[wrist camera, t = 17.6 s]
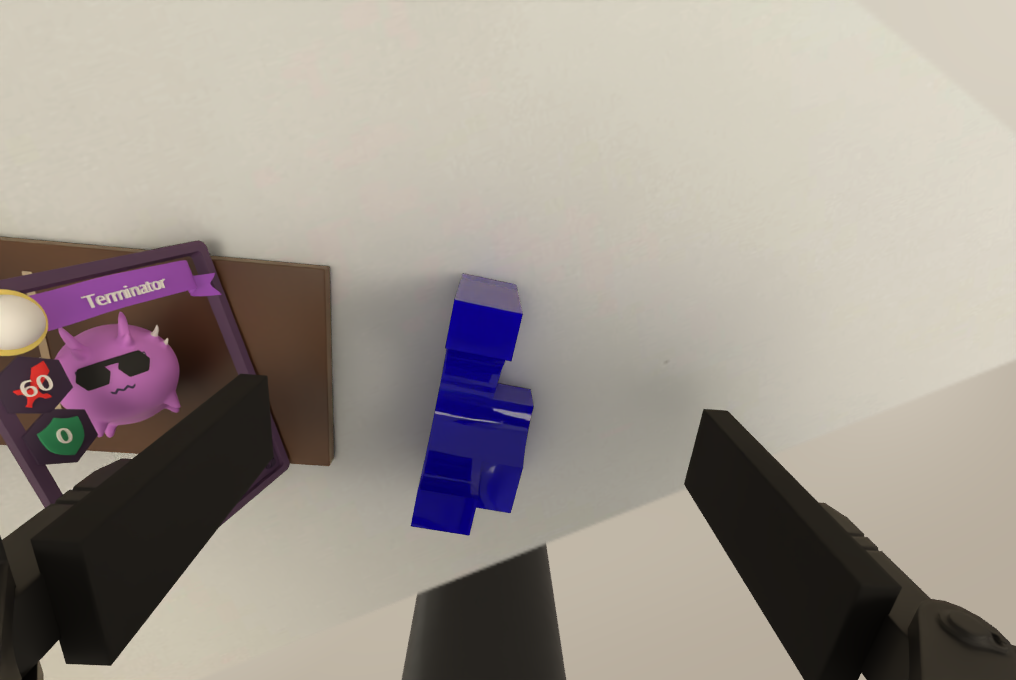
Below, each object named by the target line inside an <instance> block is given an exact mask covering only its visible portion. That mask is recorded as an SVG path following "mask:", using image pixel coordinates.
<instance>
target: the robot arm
mask: <svg viewBox="0 0 1016 680" xmlns="http://www.w3.org/2000/svg"><path fill="white" fill-rule="evenodd" d="M273 457H274V456H273V442H272V429H271V415H270V402H269V388H268V376H266V375H253V374H239V375H238V376H237V377H236V378H234V379H233V380H232V381H231V382H229V383H228V384H227V385H225V386H224V387H223V388H222V389H220V390H219V391H218V392H217V393H215V394H214V395H213V396H212V397H210V398H209V399H208V400H206V401H205V402H204V403H203V404H201V405H200V406H199V407H198V408H196V409H195V410H194V411H192V412H191V413H190V414H189V415H187V416H186V417H185V418H184V419H182V420H181V421H180V422H179V423H177V424H176V425H175V426H173V427H172V428H171V429H170V430H168V431H167V432H166V433H165V434H163V435H162V436H161V437H159V438H158V439H157V440H156V441H154V442H153V443H152V444H151V445H149V446H148V447H147V448H146V449H144V450H143V451H142V452H140V453H139V454H138V455H137V456H135V457H134V458H133V459H120V460H118V461H115V462H113V463H111V464H109V465H107V466H105V467H103V468H100V469H98V470H96V471H94V472H93V473H92V474H90V475H89V476H87V477H86V478H85V479H83V480H82V481H81V482H79V483H78V484H77V485H75V486H74V487H73V490H69V491H67V492H66V493H65V494H63V495H62V496H61V497H59V498H58V499H57V500H56V502H55V503H54V504H50V505H49V506H47V507H46V508H44V509H43V510H42V511H40V512H39V513H38V514H36V515H35V516H34V517H32V518H31V519H30V520H28V521H27V522H26V523H24V524H23V525H22V526H20V527H19V528H18V529H16V530H15V531H14V532H12V533H11V534H10V535H8V536H7V537H6V538H4V539H3V540H1V537H0V680H43V671H42V668H41V665H40V661H39V660H40V659H41V658H42V657H43V656H44V655H45V654H46V653H47V652H48V651H49V650H50V649H51V648H52V646H53V645H54V644H55V643H56V642H57V641H58V640H59V641H60V645H61V648H62V652H63V655H64V658H65V662H66V664H83V665H108V666H111V665H112V664H113V662H114V661H115V660H116V659H117V657H118V656H119V655H120V653H121V652H122V651H123V650H124V648H125V647H126V646H127V644H128V643H129V642H130V641H131V639H132V638H133V637H134V635H135V634H136V633H137V632H138V630H139V629H140V628H141V626H142V625H143V624H144V623H145V621H146V620H147V619H148V617H149V616H150V615H151V614H152V612H153V611H154V610H155V608H156V607H157V606H158V605H159V603H160V602H161V601H162V599H163V598H164V597H165V596H166V594H167V593H168V592H169V590H170V589H171V588H172V587H173V585H174V584H175V583H176V581H177V580H178V579H179V578H180V576H181V575H182V574H183V572H184V571H185V570H186V569H187V567H188V566H189V565H190V563H191V562H192V561H193V560H194V558H195V557H196V556H197V555H198V553H199V552H200V551H201V549H202V548H203V547H204V546H205V544H206V543H207V542H208V540H209V539H210V538H211V537H212V535H213V534H214V533H215V531H216V530H217V529H218V528H219V526H220V525H221V524H222V522H223V521H224V520H225V519H226V517H227V516H228V515H229V513H230V512H231V511H232V510H233V508H234V507H235V506H236V504H237V503H238V502H239V501H240V499H241V498H242V497H243V495H244V494H245V493H246V492H247V490H248V489H249V488H250V486H251V485H252V484H253V483H254V481H255V480H256V479H257V477H258V476H259V475H260V474H261V472H262V471H263V470H264V468H265V467H266V466H267V465H268V463H269V462H270V461H271V459H272V458H273ZM684 485H685V487H686V488H687V490H688V491H689V493H690V495H691V496H692V498H693V500H694V501H695V503H696V504H697V506H698V508H699V509H700V511H701V513H702V514H703V516H704V517H705V519H706V520H707V522H708V524H709V525H710V527H711V529H712V530H713V532H714V534H715V535H716V537H717V539H718V540H719V542H720V543H721V545H722V547H723V548H724V550H725V552H726V553H727V555H728V556H729V558H730V560H731V561H732V563H733V565H734V566H735V568H736V570H737V571H738V573H739V574H740V576H741V578H742V579H743V581H744V583H745V584H746V586H747V587H748V589H749V591H750V592H751V594H752V595H753V597H754V599H755V600H756V602H757V603H758V605H759V607H760V608H761V610H762V612H763V614H764V615H765V617H766V618H767V620H768V622H769V623H770V625H771V626H772V628H773V630H774V631H775V633H776V635H777V636H778V638H779V640H780V641H781V643H782V644H783V646H784V648H785V649H786V651H787V653H788V654H789V656H790V657H791V659H792V661H793V662H794V664H795V666H796V667H797V669H798V670H799V672H800V674H801V675H802V677H803V679H804V680H858V678H859V676H860V674H861V673H862V674H863V675H864V677H865V678H866V679H867V680H1016V646H1014V645H1011V644H1010V642H1009V641H1008V640H1007V639H1006V638H1005V637H1004V636H1003V635H1002V634H1001V633H1000V632H999V631H998V630H997V629H996V628H994V627H992V625H990V624H989V623H987V622H986V621H985V620H983V619H982V618H980V617H979V616H977V615H975V614H973V613H971V612H970V611H968V610H966V609H964V608H962V607H960V606H957V605H954V604H951V603H949V602H946V601H941V600H935V599H930V598H929V597H928V596H927V595H926V594H925V593H924V592H923V591H922V590H921V589H920V588H919V587H918V586H917V585H916V584H915V583H914V582H913V581H912V580H911V579H910V578H909V577H908V576H907V575H906V574H905V573H904V572H903V571H901V570H900V568H898V567H897V566H896V565H895V564H894V563H893V562H892V561H891V560H890V559H889V558H888V557H887V556H886V555H885V554H884V553H883V552H882V551H878V547H877V546H876V545H875V544H874V543H873V542H872V541H871V540H870V539H869V538H868V537H864V534H863V533H862V532H861V531H860V530H859V529H858V528H857V527H856V526H855V525H854V524H853V523H852V522H851V521H850V520H849V519H848V518H847V517H845V516H844V515H842V514H841V513H839V512H838V511H836V510H835V509H833V508H832V507H830V506H828V505H827V504H826V503H818V502H817V501H816V500H815V499H814V498H813V497H812V496H811V495H810V494H809V493H808V492H807V491H806V490H805V489H804V488H803V487H802V486H801V485H800V484H799V483H798V481H797V480H795V478H793V476H792V475H791V474H790V473H789V472H788V471H787V470H785V468H784V467H783V466H782V465H781V464H780V463H779V462H778V461H777V460H776V459H775V458H774V457H773V456H772V455H771V454H770V453H769V452H768V451H767V450H766V449H765V448H764V447H763V446H762V445H761V444H760V443H759V442H758V441H757V440H756V439H755V438H754V437H753V436H752V435H751V434H750V433H749V432H748V431H747V430H746V429H745V428H744V427H743V426H742V425H741V424H740V423H739V422H738V421H737V420H736V419H735V418H734V417H733V416H732V415H731V414H730V413H729V412H728V411H723V410H710V409H704V410H703V413H702V417H701V421H700V425H699V429H698V433H697V436H696V440H695V444H694V448H693V452H692V456H691V460H690V463H689V467H688V471H687V475H686V479H685V483H684Z"/></svg>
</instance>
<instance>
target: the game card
mask: <svg viewBox="0 0 1016 680" xmlns="http://www.w3.org/2000/svg"><path fill="white" fill-rule="evenodd" d="M187 256H189V257H191V258H192V260H193V262H194V265H195V267H196V270H197V272H198V275H195V276H193V275H192V272H191V270H190V267H189V265H188V262H187V261H186V260H182V261H176V262H171V263H167V264H161V265H156V266H151V267H146V268H141V269H136V270H132V271H127V272H122V273H117V272H121V271H126V270H130V269H134V268H139V267H143V266H148V265H152V264H156V263H161V262H165V261H169V260H174V259H178V258H182V257H187ZM113 273H117V274H113ZM108 274H112V275H108ZM104 275H108V276H104ZM99 276H103V277H99ZM95 277H99V278H95ZM91 278H95V279H91ZM86 279H91V280H87V281H84V282H80V283H76V284H73V285H69V286H65V287H62V288H58V289H54V290H50V291H46V292H42V293H38V294H34V295H30V296H27V295H25V293H29V292H34V291H38V290H43V289H47V288H51V287H56V286H60V285H64V284H69V283H73V282H78V281H82V280H86ZM187 290H188V291H189V293H190V295H191V296H207V298H208V300H209V303H210V305H211V308H212V310H213V313H214V315H215V318H216V320H217V323H218V325H219V328H220V330H221V333H222V335H223V338H224V340H225V343H226V345H227V348H228V350H229V353H230V355H231V358H232V360H233V363H234V365H235V368H236V370H237V373H238V375H239V374H253V375H256V374H255V371H254V368H253V366H252V363H251V361H250V358H249V355H248V353H247V350H246V348H245V345H244V342H243V340H242V337H241V335H240V332H239V329H238V327H237V324H236V322H235V319H234V316H233V314H232V311H231V309H230V306H229V303H228V301H227V298H226V296H225V293H224V290H223V288H222V285H221V283H220V280H219V277H218V275H217V272H216V270H215V267H214V264H213V262H212V259H211V257H210V254H209V252H208V249H207V247H206V245H205V244H204V243H203V242H202V241H193V242H188V243H183V244H178V245H173V246H168V247H163V248H158V249H153V250H148V251H143V252H138V253H133V254H128V255H123V256H118V257H113V258H108V259H103V260H98V261H93V262H88V263H83V264H78V265H73V266H68V267H63V268H58V269H53V270H48V271H43V272H38V273H33V274H28V275H23V276H18V277H13V278H8V279H3V280H0V356H14V355H19V354H23V353H26V352H28V351H30V350H32V349H34V348H35V347H37V346H38V345H39V344H40V343H41V342H42V341H43V339H44V338H45V336H46V334H47V331H51V330H54V329H58V328H59V334H60V336H61V338H62V339H63V341H64V342H65V343H66V344H65V345H64V346H63V347H62V348H61V350H60V351H59V352H58V354H57V356H56V358H55V359H45V358H35V357H24V356H16V357H15V358H14V359H13V360H12V361H11V362H10V363H9V364H8V365H7V366H6V367H5V368H4V369H3V370H2V371H1V372H0V434H1V436H2V438H3V439H4V441H5V443H6V444H7V446H8V448H9V449H10V451H11V453H12V454H13V456H14V458H15V459H16V461H17V463H18V464H19V466H20V467H21V469H22V471H23V472H24V474H25V476H26V477H27V479H28V481H29V482H30V484H31V486H32V487H33V489H34V491H35V492H36V494H37V496H38V497H39V499H40V501H41V502H42V504H43V506H44V507H45V508H46V507H47V506H49V505H50V504H54V503H55V502H56V500H57V499H58V498H59V497H61V496H62V495H63V494H62V493H61V491H60V489H59V487H58V486H57V484H56V482H55V481H54V479H53V477H52V475H51V474H50V472H49V470H48V469H47V467H46V465H45V464H58V463H72V462H78V461H79V459H80V458H81V457H82V456H83V454H84V453H85V452H86V450H87V449H88V448H89V446H90V445H91V444H92V443H93V441H94V440H95V439H96V437H97V436H98V437H102V436H103V435H104V432H105V434H106V436H107V437H109V438H111V437H113V436H114V433H115V430H116V427H117V426H118V425H126V424H132V423H137V422H140V421H143V420H146V419H148V418H150V417H152V416H154V415H155V414H157V413H158V412H160V411H161V410H163V409H165V408H166V409H169V410H171V411H172V412H175V413H177V412H179V408H180V403H179V400H178V397H177V394H176V388H177V384H178V380H179V363H178V359H177V357H176V355H175V353H174V351H173V350H172V348H171V347H170V345H169V344H168V338H166V340H163V339H162V338H161V337H160V336H158V332H159V328H158V325H156V327H155V329H154V331H153V332H151V331H149V330H147V329H144V328H141V327H138V326H133V325H128V322H127V319H126V317H125V315H124V314H123V313H122V312H119V315H118V324H109V325H102V326H97V327H94V328H91V329H88V330H86V331H84V332H82V333H80V334H78V335H76V336H75V337H73V336H72V335H70V334H69V333H68V332H67V331H66V330H65V329H63V328H62V327H64V326H67V325H71V324H74V323H77V322H80V321H83V320H86V319H89V318H92V317H95V316H98V315H101V314H104V313H107V312H110V311H114V310H117V309H120V308H124V307H127V306H131V305H134V304H138V303H142V302H146V301H150V300H153V299H157V298H161V297H165V296H169V295H172V294H176V293H180V292H184V291H187ZM59 403H61V405H62V406H63V407H65V408H66V409H55V408H56V407H57V406H58V404H59ZM16 413H21V414H41V415H40V416H39V417H38V418H37V419H36V421H35V422H34V423H33V424H32V425H31V426H30V427H29V429H28V430H27V431H25V429H24V427H23V425H22V424H21V422H20V420H19V419H18V417H17V415H16ZM270 415H271V413H270ZM271 429H272V442H273V456H274V457H273V458H272V459H271V461H270V462H269V463H268V465H267V466H266V467H265V468H264V470H263V471H262V472H261V474H260V475H259V476H258V477H257V479H256V480H255V481H254V483H253V484H252V485H251V486H250V488H249V489H248V490H247V492H246V493H245V494H244V495H243V497H242V498H241V499H240V501H239V502H238V503H237V504H236V506H235V507H234V508H233V510H232V511H231V512H230V513H229V515H228V516H227V517H226V519H225V520H224V521H223V522H222V524H223V523H224V522H226V521H227V520H228V519H229V518H230V517H232V516H233V515H234V514H235V513H236V512H237V511H239V510H240V509H241V508H242V507H243V506H245V505H246V504H247V503H248V502H249V501H250V500H252V499H253V498H254V497H255V496H256V495H258V494H259V493H260V492H261V491H262V490H263V489H265V488H266V487H267V486H268V485H269V484H270V483H272V482H273V481H274V480H275V479H276V478H278V477H279V476H280V475H281V474H282V473H283V472H285V471H286V470H287V469H288V467H289V459H288V457H287V454H286V451H285V449H284V446H283V444H282V441H281V438H280V436H279V433H278V431H277V428H276V426H275V423H274V420H273V418H272V415H271ZM222 524H221V525H222ZM221 525H220V526H221ZM220 526H219V527H220Z"/></svg>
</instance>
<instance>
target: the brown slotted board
mask: <svg viewBox="0 0 1016 680" xmlns="http://www.w3.org/2000/svg"><path fill="white" fill-rule="evenodd" d="M143 251H148V250H142V249H131V248H120V247H109V246H98V245H87V244H76V243H65V242H54V241H43V240H31V239H20V238H9V237H0V280H3V279H8V278H13V277H18V276H23V275H28V274H33V273H38V272H43V271H48V270H53V269H58V268H63V267H68V266H73V265H78V264H83V263H88V262H93V261H98V260H103V259H108V258H113V257H118V256H123V255H128V254H133V253H138V252H143ZM210 257H211V259H212V262H213V264H214V267H215V270H216V272H217V275H218V277H219V280H220V283H221V285H222V288H223V290H224V293H225V296H226V298H227V301H228V303H229V306H230V309H231V311H232V314H233V316H234V319H235V322H236V324H237V327H238V329H239V332H240V335H241V337H242V340H243V342H244V345H245V348H246V350H247V353H248V355H249V358H250V361H251V363H252V366H253V368H254V371H255V374H256V375H266V376H268V388H269V402H270V413H271V415H272V418H273V420H274V423H275V426H276V428H277V431H278V433H279V436H280V438H281V441H282V444H283V446H284V449H285V451H286V454H287V457H288V459H289V464H305V465H320V466H330V464H331V462H332V460H333V459H334V442H333V396H332V350H331V304H330V267H329V266H320V265H309V264H298V263H287V262H276V261H264V260H253V259H242V258H231V257H220V256H210ZM182 260H186V261H187V262H188V265H189V267H190V270H191V272H192V275H193V276H195V275H198V272H197V270H196V267H195V265H194V262H193V260H192V258H191V257H189V256H187V257H182V258H178V259H174V260H169V261H165V262H161V263H156V264H152V265H148V266H143V267H139V268H134V269H130V270H126V271H121V272H117V273H122V272H127V271H132V270H136V269H141V268H146V267H151V266H156V265H161V264H167V263H171V262H176V261H182ZM117 273H113V274H117ZM108 275H112V274H108ZM108 275H104V276H108ZM99 277H103V276H99ZM99 277H95V278H99ZM95 278H91V279H95ZM91 279H86V280H82V281H78V282H73V283H69V284H64V285H60V286H56V287H51V288H47V289H43V290H38V291H34V292H29V293H25V295H27V296H30V295H34V294H38V293H42V292H46V291H50V290H54V289H58V288H62V287H65V286H69V285H73V284H76V283H80V282H84V281H87V280H91ZM119 312H122V313H123V314H124V315H125V317H126V319H127V322H128V325H133V326H138V327H141V328H144V329H147V330H149V331H151V332H153V331H154V329H155V327H156V325H158V328H159V332H158V336H160V337H161V338H162V339H163V340H166V338H168V344H169V345H170V347H171V348H172V350H173V351H174V353H175V355H176V357H177V359H178V363H179V380H178V384H177V388H176V394H177V397H178V400H179V403H180V408H179V412H177V413H175V412H172V411H171V410H169V409H166V408H165V409H163V410H161V411H160V412H158V413H157V414H155V415H154V416H152V417H150V418H148V419H146V420H143V421H140V422H137V423H132V424H126V425H118V426H117V427H116V430H115V433H114V436H113V437H111V438H109V437H107V436H106V434H105V432H104V435H103V436H102V437H98V436H97V437H96V439H95V440H94V441H93V443H92V444H91V445H90V446H89V448H88V449H87V450H89V451H104V452H120V453H135V454H139V453H140V452H142V451H143V450H144V449H146V448H147V447H148V446H149V445H151V444H152V443H153V442H154V441H156V440H157V439H158V438H159V437H161V436H162V435H163V434H165V433H166V432H167V431H168V430H170V429H171V428H172V427H173V426H175V425H176V424H177V423H179V422H180V421H181V420H182V419H184V418H185V417H186V416H187V415H189V414H190V413H191V412H192V411H194V410H195V409H196V408H198V407H199V406H200V405H201V404H203V403H204V402H205V401H206V400H208V399H209V398H210V397H212V396H213V395H214V394H215V393H217V392H218V391H219V390H220V389H222V388H223V387H224V386H225V385H227V384H228V383H229V382H231V381H232V380H233V379H234V378H236V377H237V376H238V373H237V370H236V368H235V365H234V363H233V360H232V358H231V355H230V353H229V350H228V348H227V345H226V343H225V340H224V338H223V335H222V333H221V330H220V328H219V325H218V323H217V320H216V318H215V315H214V313H213V310H212V308H211V305H210V303H209V300H208V298H207V296H191V295H190V293H189V291H188V290H187V291H184V292H180V293H176V294H172V295H169V296H165V297H161V298H157V299H153V300H150V301H146V302H142V303H138V304H134V305H131V306H127V307H124V308H120V309H117V310H114V311H110V312H107V313H104V314H101V315H98V316H95V317H92V318H89V319H86V320H83V321H80V322H77V323H74V324H71V325H67V326H64V327H62V328H63V329H65V330H66V331H67V332H68V333H69V334H70V335H72V336H73V337H75V336H76V335H78V334H80V333H82V332H84V331H86V330H88V329H91V328H94V327H97V326H102V325H109V324H118V315H119ZM65 344H66V343H65V342H64V341H63V339H62V338H61V336H60V334H59V328H58V329H54V330H51V331H47V334H46V336H45V338H44V339H43V341H42V342H41V343H40V344H39V345H38V346H37V347H35V348H34V349H32V350H30V351H28V352H26V353H23V354H19V355H14V356H0V372H1V371H2V370H3V369H4V368H5V367H6V366H7V365H8V364H9V363H10V362H11V361H12V360H13V359H14V358H15V357H16V356H24V357H35V358H45V359H55V358H56V356H57V354H58V352H59V351H60V350H61V348H62V347H63V346H64V345H65ZM55 409H66V408H65V407H63V406H62V405H61V403H59V404H58V406H57V407H56V408H55ZM16 415H17V417H18V419H19V420H20V422H21V424H22V425H23V427H24V429H25V431H27V430H28V429H29V427H30V426H31V425H32V424H33V423H34V422H35V421H36V419H37V418H38V417H39V416H40V415H41V414H21V413H16ZM0 445H7V444H6V443H5V441H4V439H3V438H2V436H1V434H0Z"/></svg>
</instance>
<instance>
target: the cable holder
mask: <svg viewBox="0 0 1016 680" xmlns="http://www.w3.org/2000/svg"><path fill="white" fill-rule="evenodd" d="M522 315H523V313H522V308H521V304H520V299H519V295H518V290H517V286H516V285H515V284H511V283H506V282H501V281H497V280H492V279H487V278H483V277H478V276H473V275H469V274H464V273H463V274H462V277H461V281H460V284H459V287H458V290H457V293H456V296H455V299H454V305H453V310H452V315H451V320H450V325H449V330H448V336H447V341H446V346H445V348H446V355H445V361H444V367H443V372H442V377H441V383H440V388H439V393H438V398H437V403H436V408H435V413H434V418H433V423H432V428H431V432H430V437H429V442H428V447H427V451H426V456H425V460H424V465H423V469H422V474H421V478H420V483H419V487H418V491H417V497H416V502H415V507H414V512H413V517H412V523H411V526H413V527H419V528H425V529H432V530H438V531H444V532H450V533H457V534H463V535H470V530H471V526H472V522H473V518H474V514H475V510H476V508H482V509H488V510H494V511H500V512H506V513H511V510H512V506H513V503H514V499H515V495H516V491H517V488H518V484H519V480H520V477H521V473H522V469H523V461H524V453H525V446H526V440H527V434H528V429H529V424H530V419H531V415H532V411H533V407H534V406H533V400H532V395H531V389H526V388H521V387H516V386H510V385H505V384H500V383H498V380H499V377H500V373H501V370H502V367H503V365H504V362H505V360H507V361H512V357H513V352H514V348H515V344H516V340H517V336H518V332H519V328H520V323H521V319H522Z"/></svg>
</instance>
